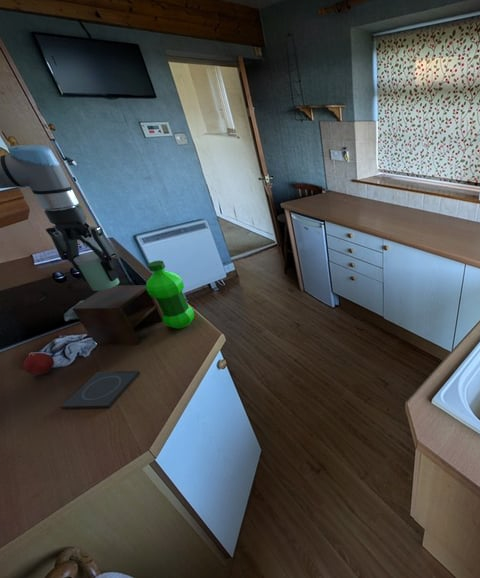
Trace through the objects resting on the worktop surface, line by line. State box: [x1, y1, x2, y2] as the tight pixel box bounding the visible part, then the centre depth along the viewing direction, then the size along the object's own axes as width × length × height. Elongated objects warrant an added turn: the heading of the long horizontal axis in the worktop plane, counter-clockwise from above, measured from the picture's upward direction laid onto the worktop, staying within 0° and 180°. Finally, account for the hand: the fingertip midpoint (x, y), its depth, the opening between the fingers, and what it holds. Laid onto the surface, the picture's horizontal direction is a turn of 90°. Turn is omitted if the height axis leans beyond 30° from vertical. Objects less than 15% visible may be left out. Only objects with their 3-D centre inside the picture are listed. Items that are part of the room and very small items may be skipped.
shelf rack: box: [71, 284, 163, 346], centre depth 100 cm, size 14×14×15 cm
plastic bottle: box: [145, 260, 195, 330], centre depth 101 cm, size 10×10×25 cm
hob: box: [60, 370, 141, 410], centre depth 82 cm, size 12×12×1 cm
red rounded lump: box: [22, 352, 55, 375], centre depth 85 cm, size 6×6×8 cm
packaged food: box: [63, 299, 85, 322], centre depth 111 cm, size 9×12×5 cm
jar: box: [73, 251, 120, 292], centre depth 91 cm, size 7×7×10 cm
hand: (101, 279), depth 93 cm, fingers closed on jar, 7 cm apart
